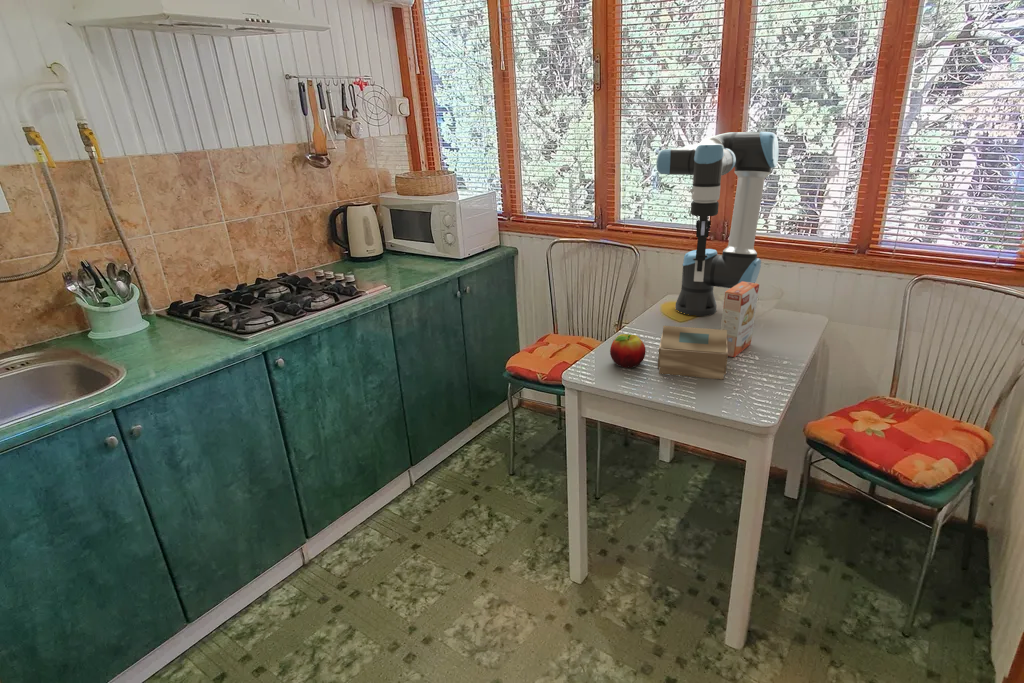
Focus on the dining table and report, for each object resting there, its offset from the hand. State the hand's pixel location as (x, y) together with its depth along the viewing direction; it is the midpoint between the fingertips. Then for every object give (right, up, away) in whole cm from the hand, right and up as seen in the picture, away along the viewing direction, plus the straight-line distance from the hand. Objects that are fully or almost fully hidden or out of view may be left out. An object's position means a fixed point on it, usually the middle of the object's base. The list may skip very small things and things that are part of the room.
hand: (698, 280), depth 171 cm
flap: (-4, -18, -8) cm, 20 cm away
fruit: (-21, -26, +4) cm, 33 cm away
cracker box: (+16, -21, +12) cm, 29 cm away
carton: (-2, -26, 0) cm, 26 cm away
